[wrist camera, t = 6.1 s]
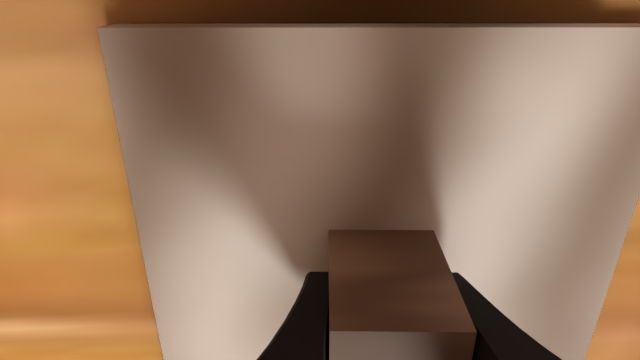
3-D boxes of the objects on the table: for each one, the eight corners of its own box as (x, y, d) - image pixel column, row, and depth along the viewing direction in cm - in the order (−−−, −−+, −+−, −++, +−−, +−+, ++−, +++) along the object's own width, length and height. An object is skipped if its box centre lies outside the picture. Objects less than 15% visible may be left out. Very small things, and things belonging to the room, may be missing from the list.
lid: (665, 23, 11) (897, 54, 7) (547, 407, 17) (628, 564, 12) (115, 23, 11) (-26, 54, 7) (185, 404, 17) (134, 558, 13)
